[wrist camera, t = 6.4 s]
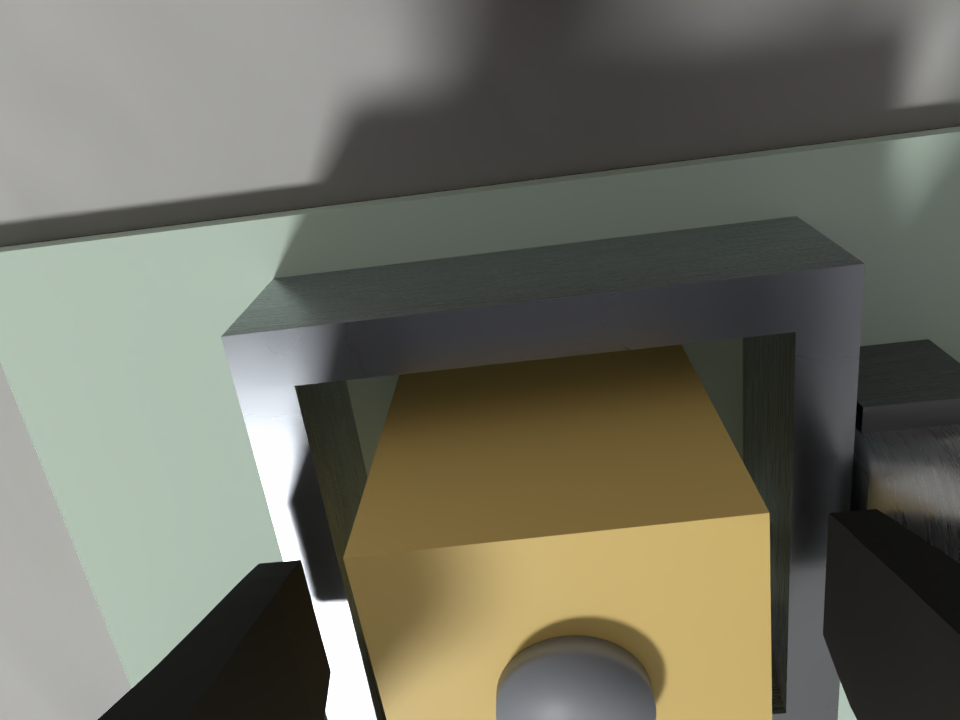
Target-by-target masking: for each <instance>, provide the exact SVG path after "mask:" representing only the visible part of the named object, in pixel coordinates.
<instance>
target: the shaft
mask: <svg viewBox="0 0 960 720" xmlns="http://www.w3.org/2000/svg"><path fill="white" fill-rule="evenodd" d="M870 509H877V510H879V511H881V512H882V513H884V514H886V515H887V516H889V517H890V518H892V519H893V520H895V521H897V522H898V523H900V524H901V525H903V526H904V527H906V528H907V529H909V530H910V531H912V532H913V533H915V534H916V535H918V536H919V537H921V538H922V539H924V540H925V541H927V542H928V543H930V544H931V545H933V546H934V547H936V548H937V549H939V550H940V551H942V552H943V553H945V554H946V555H948V556H949V557H951V558H952V559H954V560H955V561H957V562H958V563H960V363H959V362H958V361H956V360H955V359H954V358H953V357H951V356H950V355H949V354H947V353H946V352H945V351H943V350H942V349H941V348H940V347H938V346H937V345H936V344H934V343H933V342H932V341H930V340H929V339H925V340H915V341H906V342H896V343H887V344H877V345H868V346H860V356H859V372H858V389H857V406H856V422H855V439H854V455H853V472H852V489H851V505H850V511H858V510H870Z"/></svg>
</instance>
